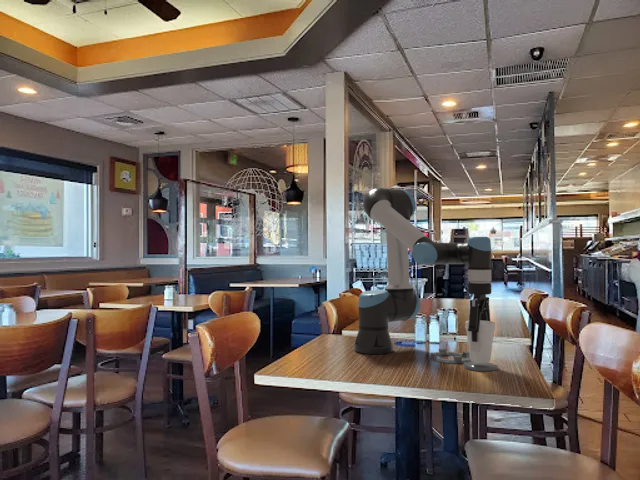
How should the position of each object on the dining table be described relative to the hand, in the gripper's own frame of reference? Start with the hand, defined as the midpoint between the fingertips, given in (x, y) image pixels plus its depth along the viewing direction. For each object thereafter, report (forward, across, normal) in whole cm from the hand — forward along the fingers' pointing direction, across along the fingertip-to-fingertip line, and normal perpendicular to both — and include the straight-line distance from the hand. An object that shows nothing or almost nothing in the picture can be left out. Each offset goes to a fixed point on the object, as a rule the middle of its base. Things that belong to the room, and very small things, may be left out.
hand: (480, 348), depth 165 cm
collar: (+6, -7, -13) cm, 16 cm away
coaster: (+6, 0, 0) cm, 6 cm away
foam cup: (+4, 0, 0) cm, 4 cm away
